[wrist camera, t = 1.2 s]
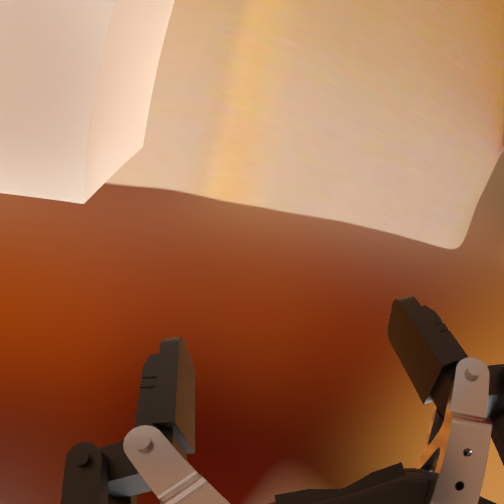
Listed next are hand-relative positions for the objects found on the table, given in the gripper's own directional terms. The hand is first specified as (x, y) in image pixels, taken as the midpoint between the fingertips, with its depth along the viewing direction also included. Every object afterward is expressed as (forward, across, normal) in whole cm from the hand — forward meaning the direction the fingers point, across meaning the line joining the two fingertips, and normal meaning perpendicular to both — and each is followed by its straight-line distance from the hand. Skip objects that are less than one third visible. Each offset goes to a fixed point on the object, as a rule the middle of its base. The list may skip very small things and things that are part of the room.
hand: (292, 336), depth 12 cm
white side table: (+25, +13, -14) cm, 32 cm away
